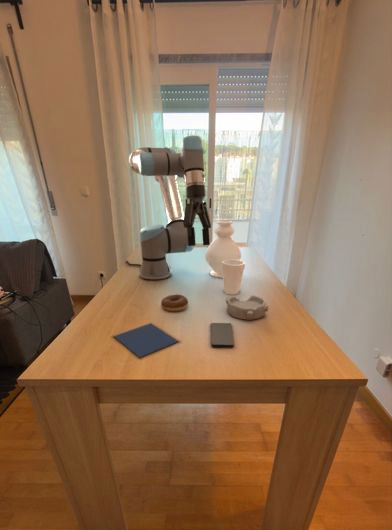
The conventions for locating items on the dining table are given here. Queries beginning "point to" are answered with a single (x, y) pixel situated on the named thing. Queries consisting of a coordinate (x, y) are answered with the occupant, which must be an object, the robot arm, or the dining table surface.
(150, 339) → the cloth
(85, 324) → the dining table surface
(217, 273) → the decorative vase
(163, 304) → the donut
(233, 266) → the foam cup
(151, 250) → the robot arm
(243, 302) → the dish
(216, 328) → the smartphone
